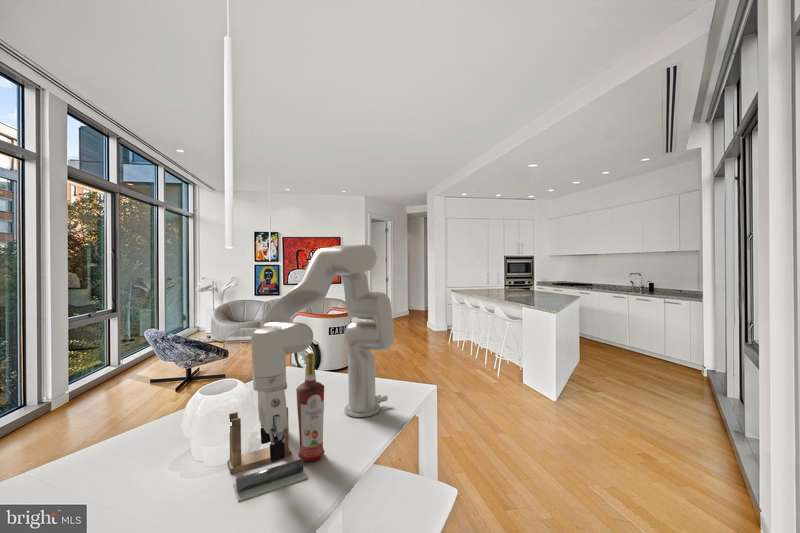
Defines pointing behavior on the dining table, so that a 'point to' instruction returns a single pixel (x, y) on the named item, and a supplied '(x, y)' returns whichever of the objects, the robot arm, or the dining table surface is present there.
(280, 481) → the mat
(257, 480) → the rail
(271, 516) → the dining table surface
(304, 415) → the liquor
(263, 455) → the hook stand
